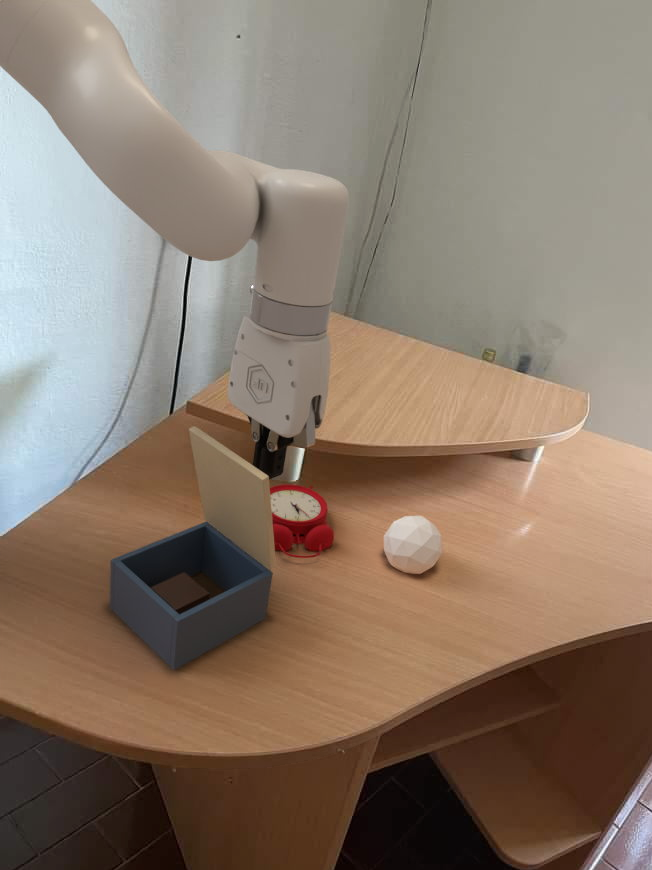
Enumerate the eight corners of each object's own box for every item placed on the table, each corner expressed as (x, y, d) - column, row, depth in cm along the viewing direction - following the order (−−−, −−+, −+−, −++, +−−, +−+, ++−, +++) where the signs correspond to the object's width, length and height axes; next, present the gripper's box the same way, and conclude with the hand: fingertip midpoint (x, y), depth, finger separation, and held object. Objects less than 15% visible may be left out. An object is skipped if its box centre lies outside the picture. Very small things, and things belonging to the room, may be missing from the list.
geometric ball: (397, 572, 97) (413, 517, 98) (444, 586, 91) (460, 527, 92) (363, 561, 91) (381, 503, 92) (411, 575, 86) (429, 513, 87)
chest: (173, 677, 70) (178, 621, 66) (109, 614, 76) (110, 559, 72) (264, 625, 79) (273, 572, 75) (201, 572, 85) (206, 520, 81)
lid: (262, 480, 66) (269, 476, 66) (188, 428, 71) (194, 425, 72) (270, 571, 75) (276, 567, 75) (204, 519, 80) (209, 516, 81)
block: (148, 618, 76) (150, 587, 73) (182, 601, 79) (184, 571, 76) (173, 641, 73) (175, 610, 71) (206, 623, 77) (210, 593, 74)
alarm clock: (321, 481, 101) (349, 521, 88) (316, 520, 103) (342, 566, 89) (250, 478, 98) (266, 519, 84) (246, 519, 100) (262, 566, 86)
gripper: (209, 290, 67) (196, 453, 77) (319, 346, 60) (290, 519, 69) (266, 283, 73) (247, 437, 82) (374, 334, 65) (340, 497, 75)
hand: (267, 474), depth 76 cm, fingers closed
